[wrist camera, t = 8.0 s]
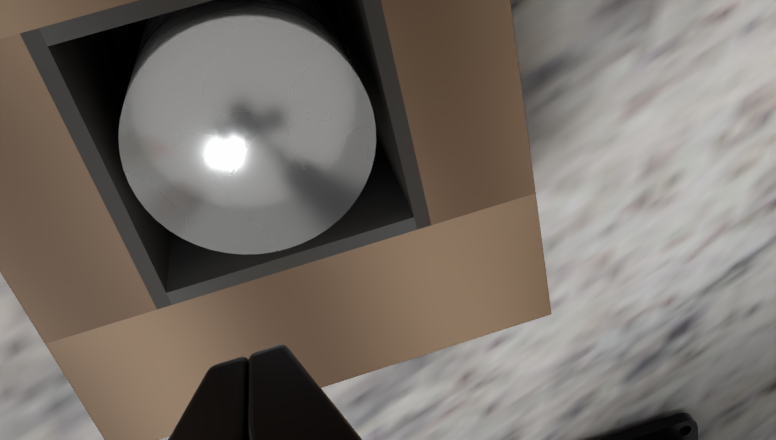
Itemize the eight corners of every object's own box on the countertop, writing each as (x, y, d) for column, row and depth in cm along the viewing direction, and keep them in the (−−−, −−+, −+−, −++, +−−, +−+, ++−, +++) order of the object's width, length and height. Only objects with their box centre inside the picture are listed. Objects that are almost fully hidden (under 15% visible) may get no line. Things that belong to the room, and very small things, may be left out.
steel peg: (307, -61, 16) (341, -12, 12) (357, 123, 18) (398, 214, 14) (107, -5, 16) (72, 63, 12) (182, 174, 18) (175, 282, 14)
